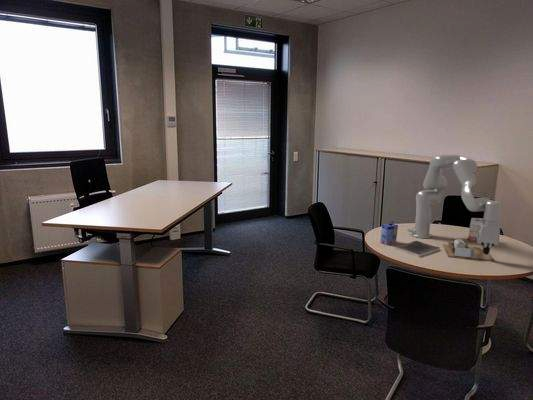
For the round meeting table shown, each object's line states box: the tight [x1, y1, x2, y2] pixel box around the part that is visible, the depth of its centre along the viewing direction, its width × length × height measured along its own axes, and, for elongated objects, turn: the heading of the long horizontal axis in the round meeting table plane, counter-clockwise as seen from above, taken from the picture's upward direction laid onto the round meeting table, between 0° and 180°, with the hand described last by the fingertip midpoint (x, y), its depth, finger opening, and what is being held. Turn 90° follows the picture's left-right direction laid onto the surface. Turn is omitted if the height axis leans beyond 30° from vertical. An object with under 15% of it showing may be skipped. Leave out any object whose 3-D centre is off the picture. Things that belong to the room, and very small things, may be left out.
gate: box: [454, 247, 474, 258], centre depth 225 cm, size 10×2×5 cm, turn 74°
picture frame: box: [395, 240, 441, 258], centre depth 240 cm, size 16×2×22 cm
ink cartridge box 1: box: [380, 221, 399, 246], centre depth 251 cm, size 10×6×14 cm, turn 123°
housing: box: [442, 241, 495, 262], centre depth 234 cm, size 24×22×5 cm
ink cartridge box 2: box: [467, 217, 483, 242], centre depth 258 cm, size 9×5×15 cm, turn 84°
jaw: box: [453, 238, 465, 249], centre depth 237 cm, size 4×7×6 cm, turn 165°
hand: (485, 253), depth 223 cm, fingers closed
